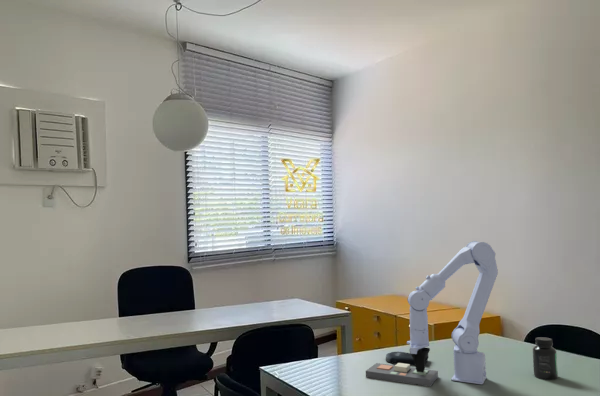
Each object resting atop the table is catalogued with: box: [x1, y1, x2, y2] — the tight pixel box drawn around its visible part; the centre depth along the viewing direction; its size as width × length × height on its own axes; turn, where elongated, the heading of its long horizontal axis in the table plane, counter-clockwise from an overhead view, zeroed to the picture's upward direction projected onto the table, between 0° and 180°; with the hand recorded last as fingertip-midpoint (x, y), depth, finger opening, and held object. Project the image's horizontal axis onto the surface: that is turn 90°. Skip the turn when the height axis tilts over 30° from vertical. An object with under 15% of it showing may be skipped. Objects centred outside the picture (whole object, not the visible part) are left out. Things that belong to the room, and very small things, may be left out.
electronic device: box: [385, 351, 429, 367], centre depth 173 cm, size 9×6×15 cm
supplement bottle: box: [532, 336, 559, 381], centre depth 153 cm, size 7×7×12 cm
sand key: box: [394, 363, 411, 373], centre depth 156 cm, size 4×4×2 cm
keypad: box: [365, 362, 439, 387], centre depth 155 cm, size 21×10×2 cm, turn 60°
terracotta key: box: [377, 363, 393, 370], centre depth 159 cm, size 4×4×2 cm
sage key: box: [413, 369, 429, 375], centre depth 153 cm, size 4×4×2 cm
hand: (420, 371), depth 153 cm, fingers closed, pressing on sage key
